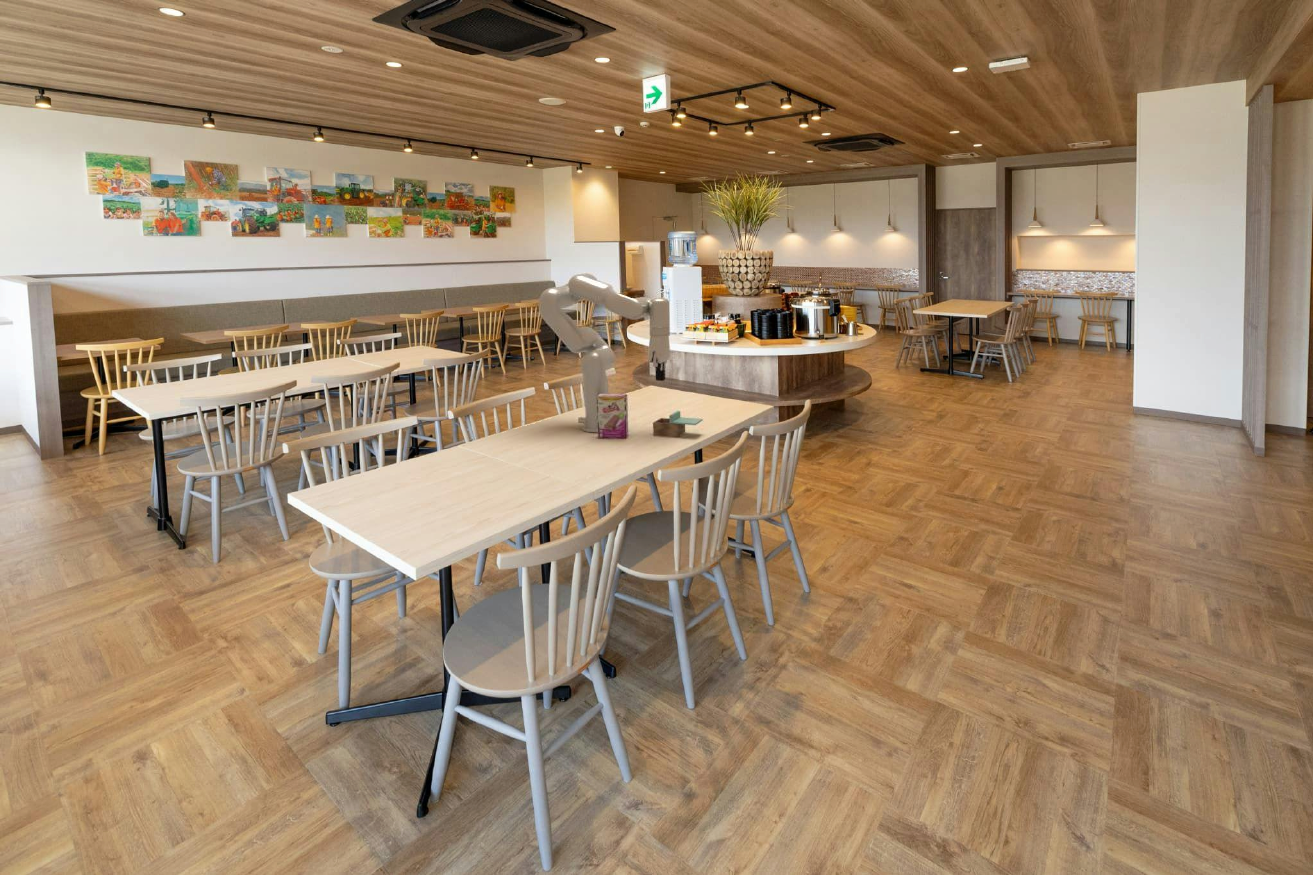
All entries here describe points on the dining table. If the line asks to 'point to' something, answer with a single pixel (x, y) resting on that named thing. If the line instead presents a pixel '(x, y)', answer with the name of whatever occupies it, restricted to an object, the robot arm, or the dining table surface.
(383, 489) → the dining table surface
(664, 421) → the brown wooden box
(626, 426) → the candy bar box
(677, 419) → the lid
